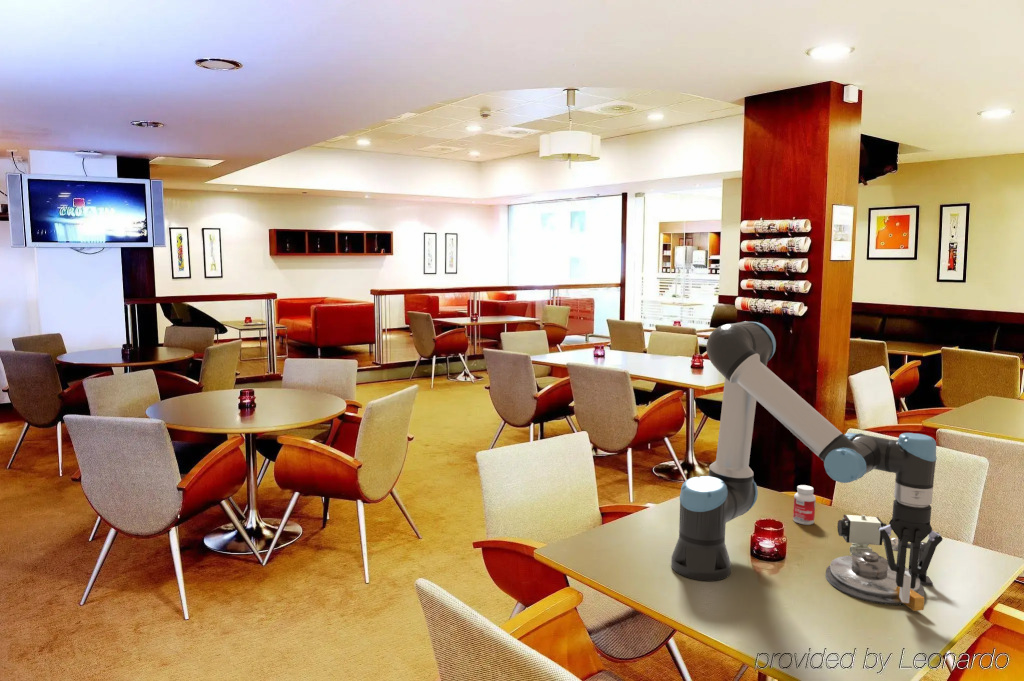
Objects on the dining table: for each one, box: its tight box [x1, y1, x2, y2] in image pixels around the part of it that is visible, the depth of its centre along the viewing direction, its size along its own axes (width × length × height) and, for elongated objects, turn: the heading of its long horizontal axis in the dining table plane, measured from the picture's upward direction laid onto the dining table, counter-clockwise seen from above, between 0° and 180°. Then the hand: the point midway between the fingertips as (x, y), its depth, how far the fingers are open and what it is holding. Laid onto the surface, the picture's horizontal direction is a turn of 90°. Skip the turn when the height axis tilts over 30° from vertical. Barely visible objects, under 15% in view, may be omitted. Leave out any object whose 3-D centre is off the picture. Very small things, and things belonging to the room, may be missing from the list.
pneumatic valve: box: [836, 514, 888, 556], centre depth 189 cm, size 6×12×12 cm, turn 78°
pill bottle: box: [792, 484, 817, 526], centre depth 215 cm, size 6×6×11 cm
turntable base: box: [825, 565, 925, 606], centre depth 174 cm, size 22×22×1 cm
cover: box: [851, 550, 888, 580], centre depth 173 cm, size 8×8×5 cm
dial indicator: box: [890, 537, 934, 587], centre depth 176 cm, size 10×4×11 cm, turn 73°
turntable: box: [829, 555, 925, 612], centre depth 171 cm, size 20×26×3 cm
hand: (904, 600), depth 160 cm, fingers closed
